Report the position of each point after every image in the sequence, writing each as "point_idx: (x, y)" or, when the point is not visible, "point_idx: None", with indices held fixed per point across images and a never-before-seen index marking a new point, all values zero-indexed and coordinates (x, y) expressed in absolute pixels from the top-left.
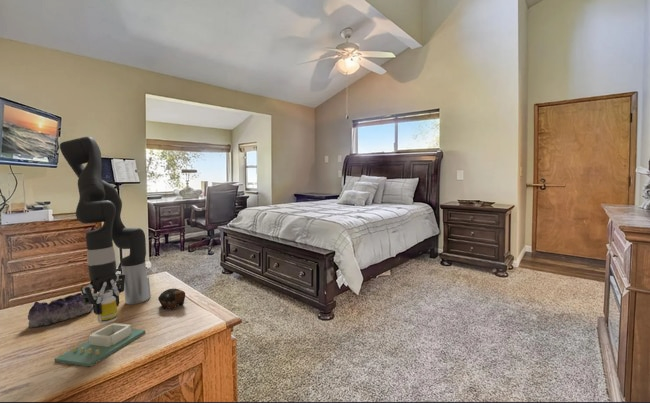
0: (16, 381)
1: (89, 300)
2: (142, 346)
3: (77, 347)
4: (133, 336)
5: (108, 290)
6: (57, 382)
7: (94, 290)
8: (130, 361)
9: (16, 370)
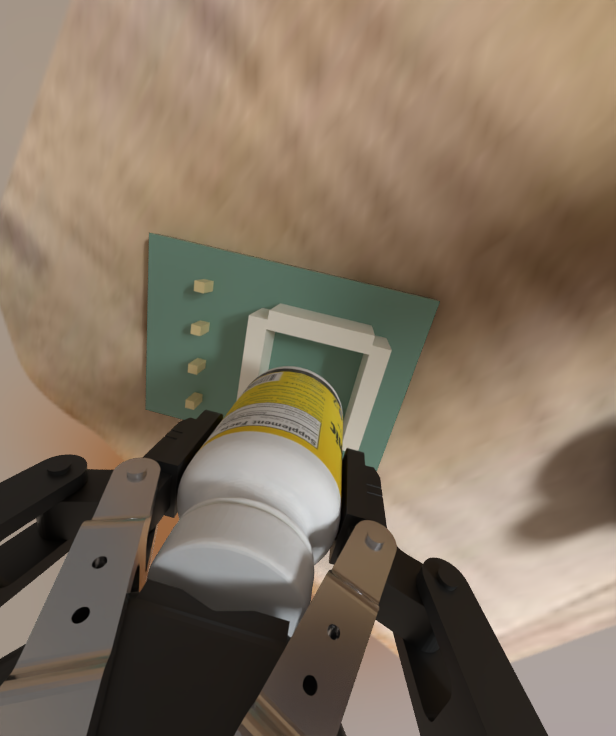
0: (36, 196)
1: (6, 549)
2: None
3: (205, 292)
4: None
5: (278, 616)
6: (74, 361)
7: (61, 608)
8: None
9: (77, 97)
